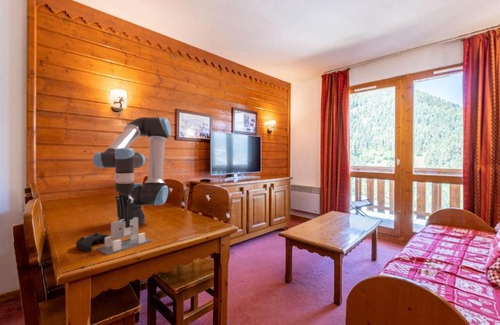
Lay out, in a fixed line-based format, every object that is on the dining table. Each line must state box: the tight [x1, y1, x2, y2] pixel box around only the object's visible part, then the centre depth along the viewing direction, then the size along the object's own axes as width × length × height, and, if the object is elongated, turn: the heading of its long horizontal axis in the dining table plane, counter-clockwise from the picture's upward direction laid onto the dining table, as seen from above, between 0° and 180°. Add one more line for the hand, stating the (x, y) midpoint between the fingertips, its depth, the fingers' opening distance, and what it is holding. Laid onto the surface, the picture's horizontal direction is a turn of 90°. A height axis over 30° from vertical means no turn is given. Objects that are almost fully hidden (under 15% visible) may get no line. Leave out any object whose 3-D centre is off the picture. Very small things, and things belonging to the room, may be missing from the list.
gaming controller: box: [75, 232, 111, 253], centre depth 109 cm, size 14×6×10 cm
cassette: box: [110, 217, 139, 241], centre depth 110 cm, size 12×2×8 cm, turn 144°
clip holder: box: [96, 232, 153, 256], centre depth 110 cm, size 10×20×4 cm, turn 144°
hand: (125, 233), depth 110 cm, fingers closed on cassette, 2 cm apart
